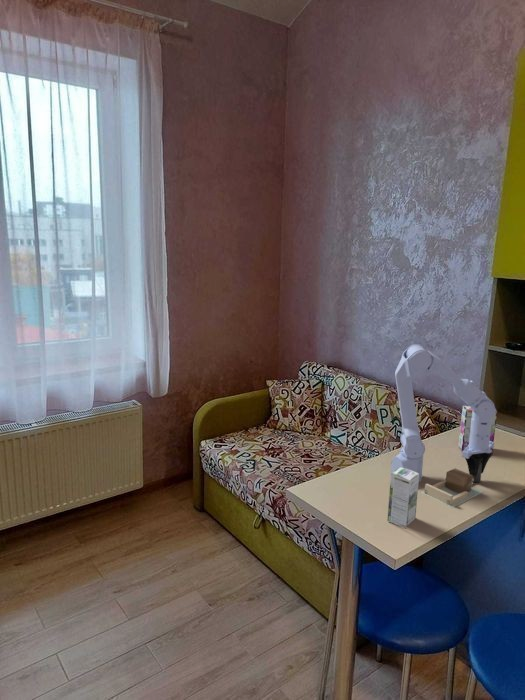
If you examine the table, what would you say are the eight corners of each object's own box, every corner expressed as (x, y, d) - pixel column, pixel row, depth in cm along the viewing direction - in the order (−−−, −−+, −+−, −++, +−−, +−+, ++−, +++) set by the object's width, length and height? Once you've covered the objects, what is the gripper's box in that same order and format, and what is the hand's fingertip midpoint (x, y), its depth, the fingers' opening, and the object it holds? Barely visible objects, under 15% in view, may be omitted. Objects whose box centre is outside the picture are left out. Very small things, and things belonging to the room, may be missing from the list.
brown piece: (462, 494, 147) (464, 476, 146) (445, 486, 152) (446, 468, 151) (486, 482, 154) (488, 465, 153) (469, 475, 159) (471, 458, 158)
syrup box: (396, 513, 139) (399, 466, 136) (416, 520, 135) (419, 472, 132) (386, 521, 135) (389, 473, 132) (407, 529, 131) (410, 479, 128)
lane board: (452, 510, 140) (453, 498, 139) (420, 494, 149) (421, 483, 148) (483, 494, 149) (484, 482, 148) (451, 480, 158) (452, 469, 157)
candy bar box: (461, 452, 180) (465, 409, 176) (457, 446, 185) (461, 405, 181) (493, 453, 179) (498, 410, 175) (488, 447, 184) (492, 406, 180)
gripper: (478, 442, 145) (474, 484, 148) (504, 432, 153) (500, 472, 156) (457, 435, 151) (453, 475, 154) (483, 425, 159) (480, 464, 162)
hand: (476, 473), depth 155 cm, fingers closed on brown piece, 3 cm apart
